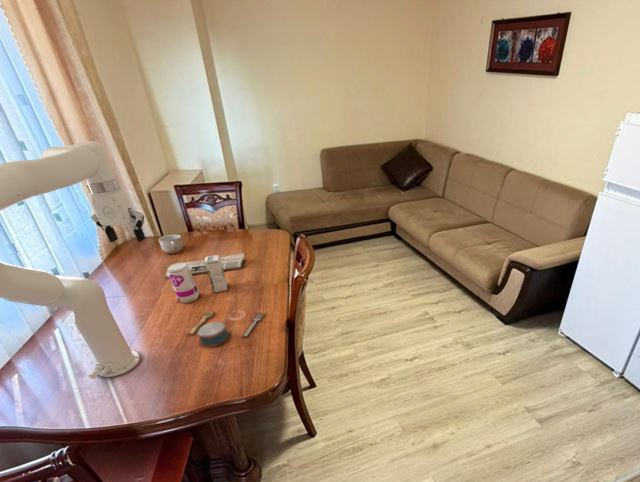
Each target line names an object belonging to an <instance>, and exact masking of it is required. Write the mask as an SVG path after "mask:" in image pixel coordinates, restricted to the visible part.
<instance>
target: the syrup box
mask: <svg viewBox="0 0 640 482" xmlns="http://www.w3.org/2000/svg"><path fill="white" fill-rule="evenodd" d="M220 258H221V257H220V255H219V254H214V255H209V256H205V257H204V260H205V266H206V269H207V272H206V273H207V276H208V278H209V282H210V285H211V288H212V291H213V293H220V292H225V291H228V281H227V279H226V274H225V270H223V267H222V264H221V261H220Z"/></svg>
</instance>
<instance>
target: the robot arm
mask: <svg viewBox="0 0 640 482" xmlns="http://www.w3.org/2000/svg"><path fill="white" fill-rule="evenodd" d="M83 181H85V182H86V186H85V187H86V188H87V189H90V192H89V197H90V201H91V204H92V208H93V211H94V213H93V214H92V215H91V216H90V219H91V220H92V221H93V222H94V223H95V225H96V226H98V227H99V228H100V229H101V230H102V231H103V232H105V234H106V237H107V239H108V240H109V243H115V242H116V241H117V240H118V239H119V238H118V235H117V233H116V230H115V229H114V227H115V226H118V227H119V226H120V227H121V226H127V225H129V226H130V227H131V228H132V229H133V234H134V236H135V239H136V240H137V242H138V243H141V242H143V241H145V239H146V235H145V233H144V231H143V228H142V227H143V225H144V223H145V214H144V213H143V212H140V211H138V210H135V209H134V208H133V206H132V203H131V202H130V200H129V198H128V196H127V194H126V193H125V191H124V190H123V189H121V187H120V185H119V183H118V180H117V177H116V175H115V173H114V170H113V168H112V165H111V163H110V160H109V159H108V156H107V154H106V151H105V148H104V147H103V145H102V143H101V142H99V141H95V140H88V141H81V142H77V143H74V144H71V145H57V146H51V147H47V148H46V149H44V150H43V152H41V156H40V158H35V159H23V160H21V159H20V160H14V161H8V162H4V163H1V164H0V212H1V211H3V210H6V209H7V208H9V207H11V206H14V205H16V204H19V203H21V202H23V201H26V200H28V199H31V198H33V197H37V196H41V195H45V194H49V193H51V192H54V191H58V190H60V189H61V190H62V189H64V188H67V187H72V186H73V185H76V184H79V183H81V182H83ZM113 226H114V227H113ZM0 298H1V299H4V300H5V301H8V302H12V303H17V304H18V303H19V304H25V305H33V306H40V307H48V308H55V309H63V310H69V311H72V313H73V315H74V323H75V326H76V328H77V330H78V332H79V334H80V335H81V336H82V338H83V340H84V341H85V343H86V345H87V346H88V348H89V350H90V351H91V353H92V354H93V356H94V358H95V360H96V362H95V363H94V364H95V366H96V367H95V368H94V370H93V371H91V372H90V373H89V374H88V378H90V379H91V380H95V379H96V378H97V377H98V376H100V377H103V378H112V377H117V376H121V375H123V374H125V373H127V372H129V371H131V370H133V368H135V367H136V366H137V365H138V364H139V362H140V360H141V356H140V353H139V352H138V351H136V350H132V349H131V347H130V346H129V344H128V343H127V340H126V338H125V336H124V335H123V332H122V331H121V328H120V327H119V325H118V324H117V322H116V320H115V318H114V316H113V314H112V312H111V309H110V307H109V305H108V302H107V298H106V294H105V291H104V289H103V287H102V286H101V285H100V284H99V283H97V282H96V281H94V280H92V279H89V278H85V277H84V278H83V277H74V276H61V275H56V274H53V273H51V272H49V271H46V270H42V269H38V268H37V269H36V268H30V267H23V266H19V265H14V264H11V263H6V262H4V261H1V260H0Z"/></svg>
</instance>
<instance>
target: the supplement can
mask: <svg viewBox="0 0 640 482" xmlns="http://www.w3.org/2000/svg"><path fill="white" fill-rule="evenodd" d="M166 273H168V276H169V277H168V278H169V281H170V284H171V285H172V288H173V291H174V293H175V295H176V298H177V300H178V302H180V303H182V304H188V303H192V302H194V301H196V300H197V299H198V297H199V296H200V293H199V291H198V288H197V285H196V283H195V280H194V277H193V274H191V271H190V269H189V267H188V266H187V265H186V264H185V262H176V263H172V264H170V265H169V266H167V272H166Z"/></svg>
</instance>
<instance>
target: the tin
mask: <svg viewBox="0 0 640 482" xmlns="http://www.w3.org/2000/svg"><path fill="white" fill-rule="evenodd" d="M197 334H198V336H199V339H200V342H201V344H202V346H204V347H206V348H207V347H208V348H213V347H217V346H220V345H222V344H224V343H225V342H226V341H228V339H229V333H228V329H227V326H226V324H225V323H224V322H222V321H212V322H208V323H206V324H202V325H201V326H200V328H199V329H198V330H197Z"/></svg>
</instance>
